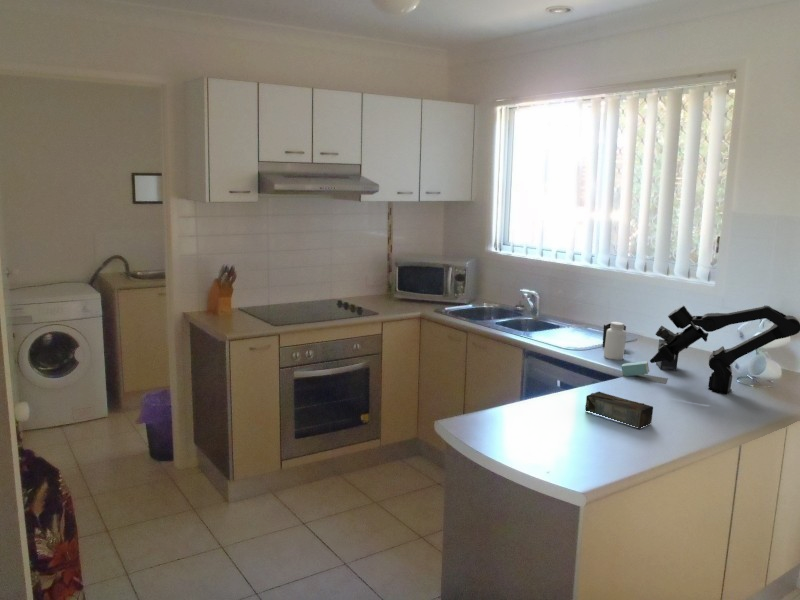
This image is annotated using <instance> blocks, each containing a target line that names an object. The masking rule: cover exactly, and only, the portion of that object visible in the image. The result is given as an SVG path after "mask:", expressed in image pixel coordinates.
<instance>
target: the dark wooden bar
mask: <svg viewBox="0 0 800 600" xmlns="http://www.w3.org/2000/svg"><path fill="white" fill-rule="evenodd" d="M585 399H586V401H585V405H584V407H585V409H584V411H585V410H586V411H590V412H593V413H596V414H599V415H602V416H605V417H608V418H611V419H614V420H617V421H620V422H623V423H626V424H629V425H632V426H635V427H638V428H641V427H643V426H646V425H648V424H650V423H651V424H652V422H653V421H652V420H653V412H654V406H652V405H648V404H645V403H643V402H638V401H633V400H629V399H627V398H623V397H619V396H616V395H611V394H608V393H605V392H601V391H597V392H592V393H590V394H588V395H586V398H585ZM646 427H647V426H646Z"/></svg>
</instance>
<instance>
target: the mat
mask: <svg viewBox="0 0 800 600" xmlns="http://www.w3.org/2000/svg"><path fill="white" fill-rule="evenodd" d="M634 380H639V381H645V382H652V383H656V384H663V385H666V384H667V381H668V380H669V378H667V377H662V376H656V375H649V374H642V375H635V377H634Z"/></svg>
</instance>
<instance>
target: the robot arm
mask: <svg viewBox="0 0 800 600" xmlns="http://www.w3.org/2000/svg"><path fill="white" fill-rule="evenodd" d="M667 317H668V319H669V320H670V321H671V322H672V323H673V325H674V326H675V327H676V328H677V329H681V330H682V331H680V332H676V333H674V332H673V331H671V330H670V329H668V328H666V327H665V326H663V325H660V326H659V328H658V329H657V331H656V332H655V336H656V337H659V338H661V339H662V340H664V342H666V344H664V345H663V344H661V345H660V347H659V352H658V351H657V352H656V354H654V356H653V357H652V358H651V359H650V360H649V362H650V363H651V364H653V363H655V364H656V362H660V361H666V360H667V361H668V362H669V363H671V362H672V361H674V359H675V354H676V355H677V354H678V355H679V353H681V352H682V351H684V350H687V349H688V348H689V346H692V345H693V344H694V343H696V342H698V341H699V340H700V339H702V340H703V341H704V342H705V343H706V342H708V336H709V333H711V332H715V331H718V330H720V329H722V328H723V329H724V328H726V326H730V325H736V324H741V323H747V322H753V321H758V320H763V319H766V320H768V321H770V322H772V323H773V325H771V326H770V328H768V329H766V330H764V331H762V332H760V333H758V334H756V335H754V336H752V337H751V338H748V339H747V340H744V341H743V342H740V343H739V344H737V345H735V346H732V347H731V348H726V349H725V346H721V347H719V348H718V349H716V350H712V353H711V354H709V357H708V367H709V368H710V370H712V372H711V375H710V376H709V379H708V385H707V386H708V388H707V390H708V391H711V392H715V393H719V394H723V395H728V394H729V393H731V392H732V391H733V389H732V388H731V387H732V382H733V372H732V371H733V370H732V366H731V365H732V364H733V363H734V362H735V361H736V360H738V359H740V358H741V357H744V356H746V355H747V354H750V353H752V352H753V351H755V350H758V349H760V348H762V347H763V346H766V345H768V344H770V343H772V342H774V341H776V340H780V339H781V340H782V339H785V338H789V337H792V336H795V335H797V334H799V333H800V321H799V320H798V318H797V317H796V316H793V315H789V314H788V315H786V314H784V313H783V312H781V311H778V310H777V309H774V308H773V307H771V306H770V305H762V306H759V307H753V308H750V309H744V310H739V311H738V310H737V311H733V312H727V313H724V312H723V313H719V312H711V313H709V312H708V313H704V314H703V315H693V314H691V313H690V312H689V310H688V309H687V307H686V306H685V305H682V306H680V307H679V308H677V309H674V310H673V311H672V312H671V313H669V314H668V315H667Z"/></svg>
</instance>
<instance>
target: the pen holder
mask: <svg viewBox="0 0 800 600" xmlns="http://www.w3.org/2000/svg"><path fill="white" fill-rule="evenodd" d="M610 326H611V322H610V323H608V324H603V333H602V347H603V348H605V340H606V332H607V330H608V329H609V328H611V327H610ZM623 330H625V331H626V330H627V326H626V325H625V324H624V329H623Z"/></svg>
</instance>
